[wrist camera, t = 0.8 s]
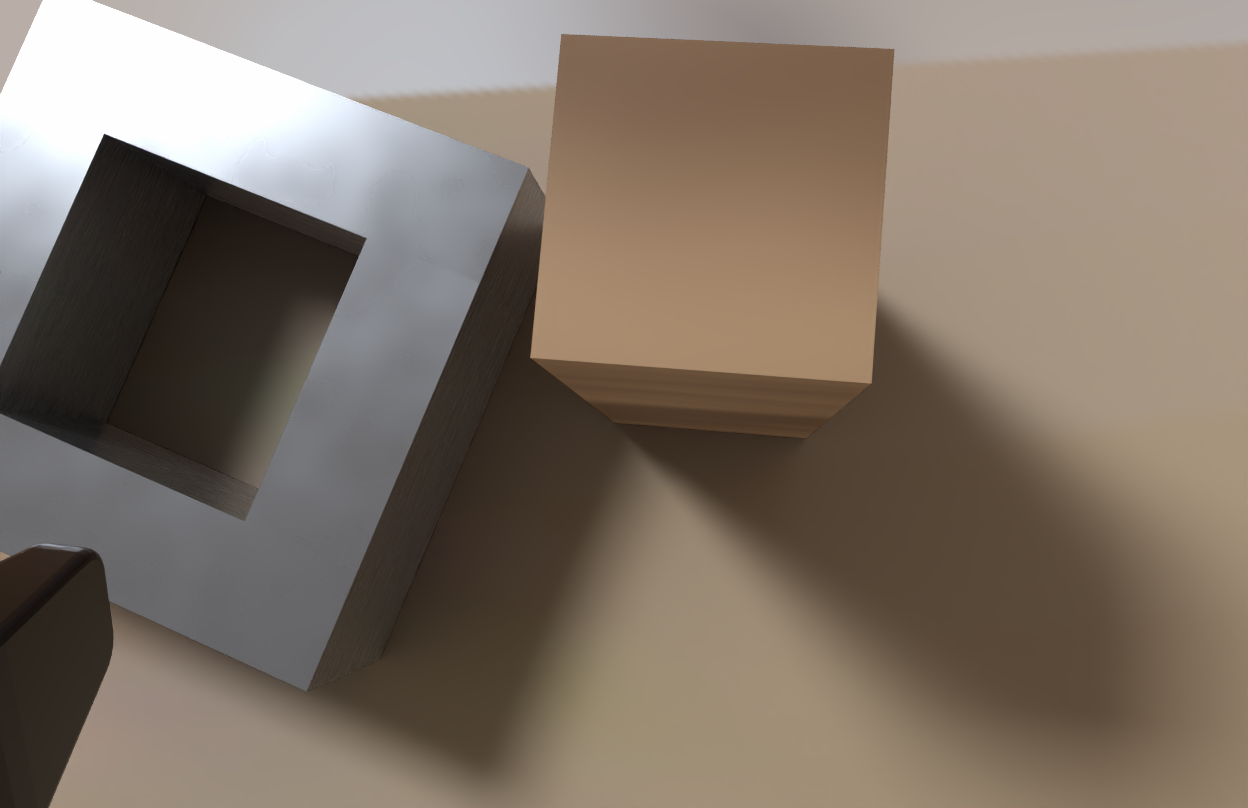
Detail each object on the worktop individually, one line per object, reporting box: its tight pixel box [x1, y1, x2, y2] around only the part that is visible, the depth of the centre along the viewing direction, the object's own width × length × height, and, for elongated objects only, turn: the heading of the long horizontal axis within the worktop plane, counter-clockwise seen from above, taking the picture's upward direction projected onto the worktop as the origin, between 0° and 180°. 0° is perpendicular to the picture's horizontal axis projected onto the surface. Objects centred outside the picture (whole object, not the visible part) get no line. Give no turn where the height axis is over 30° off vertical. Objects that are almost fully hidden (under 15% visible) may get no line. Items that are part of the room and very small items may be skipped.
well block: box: [0, 0, 546, 692], centre depth 22 cm, size 10×10×4 cm
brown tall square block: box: [530, 34, 894, 438], centre depth 18 cm, size 4×4×10 cm
